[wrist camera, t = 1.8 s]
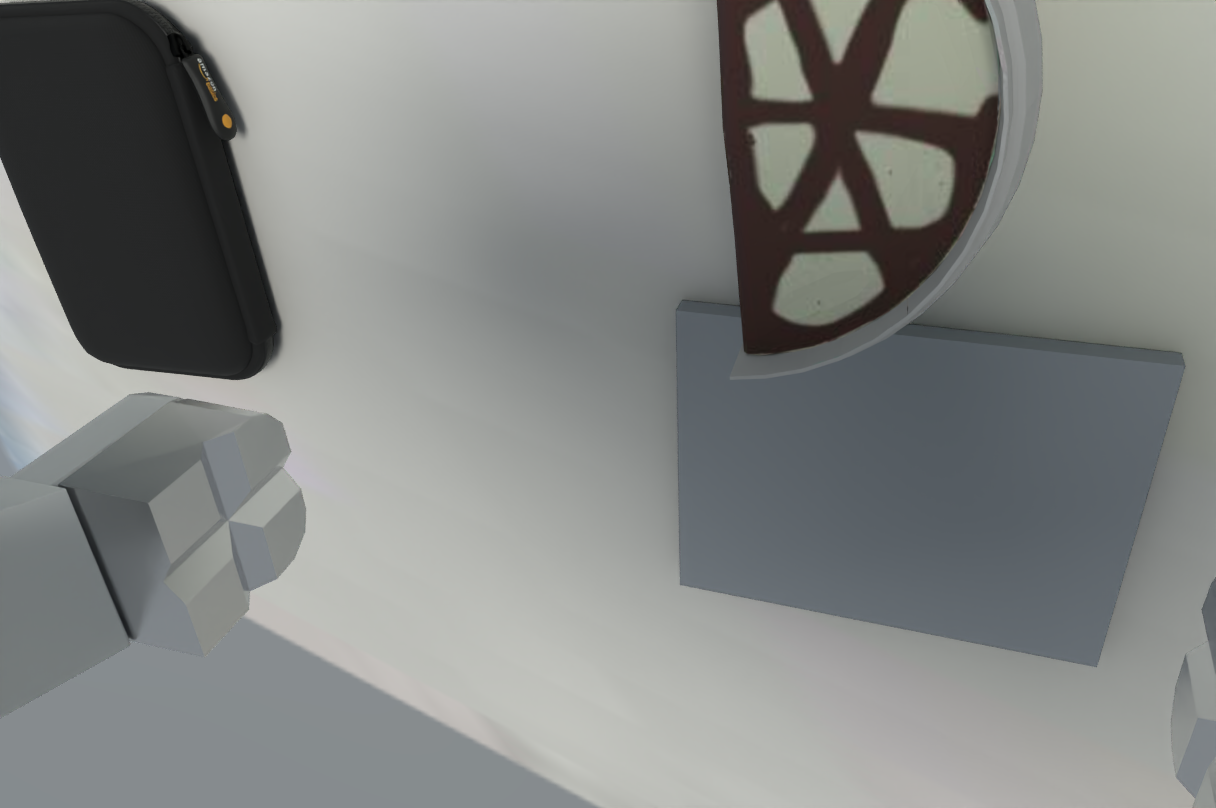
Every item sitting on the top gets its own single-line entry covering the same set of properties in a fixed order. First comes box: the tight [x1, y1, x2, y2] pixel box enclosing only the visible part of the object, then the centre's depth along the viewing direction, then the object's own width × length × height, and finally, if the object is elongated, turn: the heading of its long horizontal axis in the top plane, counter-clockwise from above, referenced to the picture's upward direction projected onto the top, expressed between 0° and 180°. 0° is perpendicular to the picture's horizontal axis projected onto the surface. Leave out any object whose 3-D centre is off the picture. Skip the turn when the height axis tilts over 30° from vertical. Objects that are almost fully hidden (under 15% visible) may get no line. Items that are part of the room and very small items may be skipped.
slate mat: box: [676, 300, 1185, 667], centre depth 34 cm, size 15×12×1 cm
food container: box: [717, 0, 1042, 380], centre depth 23 cm, size 12×6×10 cm, turn 9°
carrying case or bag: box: [0, 0, 277, 380], centre depth 38 cm, size 11×3×15 cm
